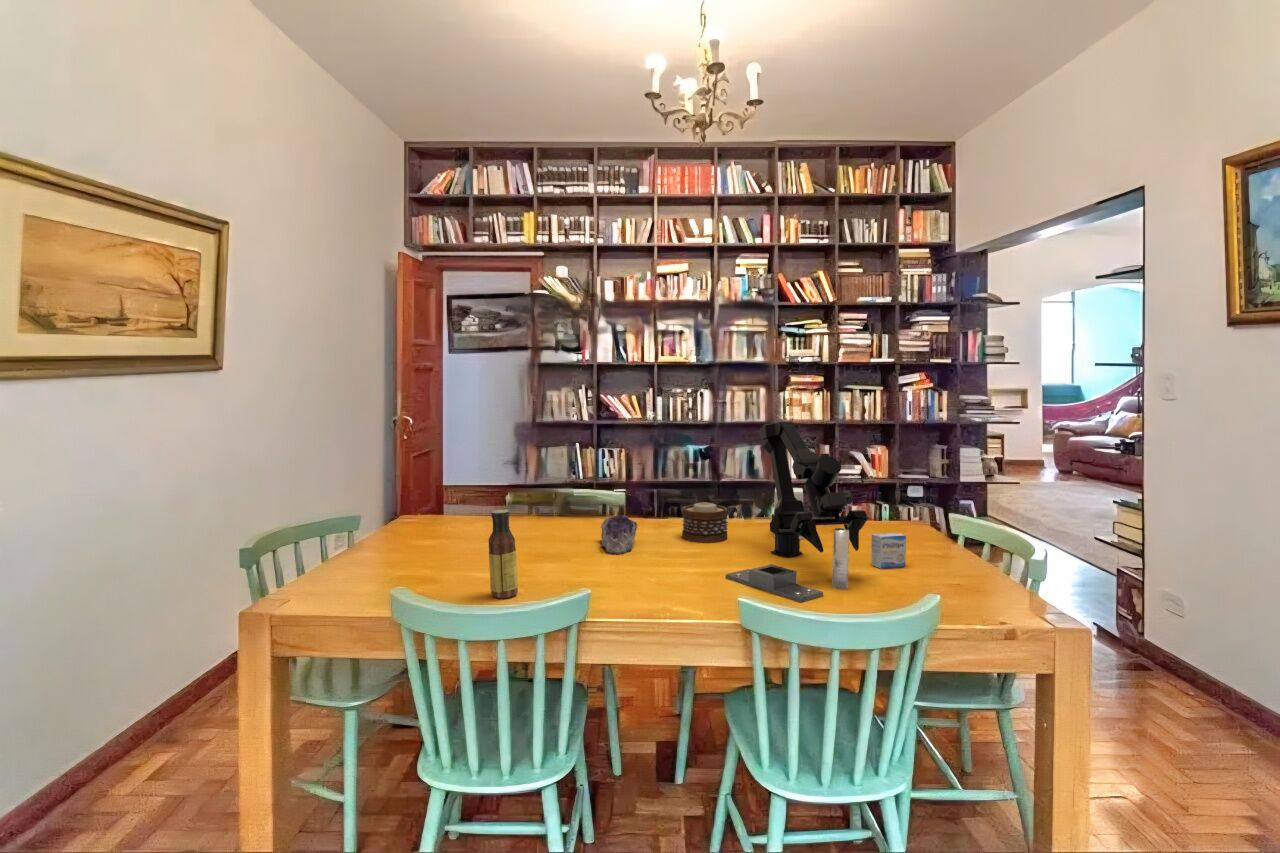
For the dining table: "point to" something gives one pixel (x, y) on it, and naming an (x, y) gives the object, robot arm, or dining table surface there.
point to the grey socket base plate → (775, 582)
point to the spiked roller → (704, 523)
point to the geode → (618, 534)
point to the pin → (840, 558)
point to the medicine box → (888, 550)
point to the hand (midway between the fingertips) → (839, 550)
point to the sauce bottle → (502, 557)
